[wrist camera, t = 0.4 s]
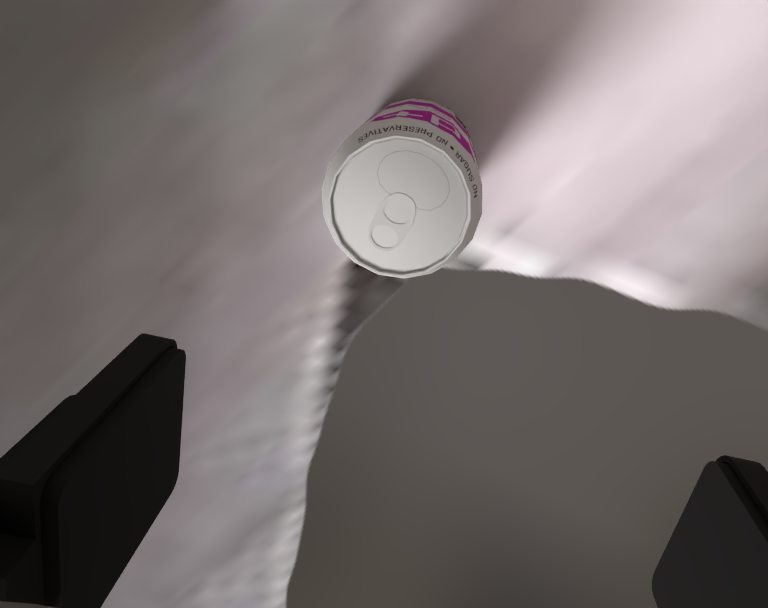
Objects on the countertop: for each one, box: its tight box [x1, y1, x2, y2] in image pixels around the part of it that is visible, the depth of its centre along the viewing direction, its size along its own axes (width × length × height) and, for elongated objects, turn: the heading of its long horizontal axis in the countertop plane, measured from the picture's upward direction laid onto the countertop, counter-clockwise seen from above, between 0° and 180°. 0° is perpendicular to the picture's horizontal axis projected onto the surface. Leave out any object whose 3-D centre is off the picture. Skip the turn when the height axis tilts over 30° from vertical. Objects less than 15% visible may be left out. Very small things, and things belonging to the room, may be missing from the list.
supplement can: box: [321, 98, 482, 278], centre depth 37 cm, size 8×8×15 cm
